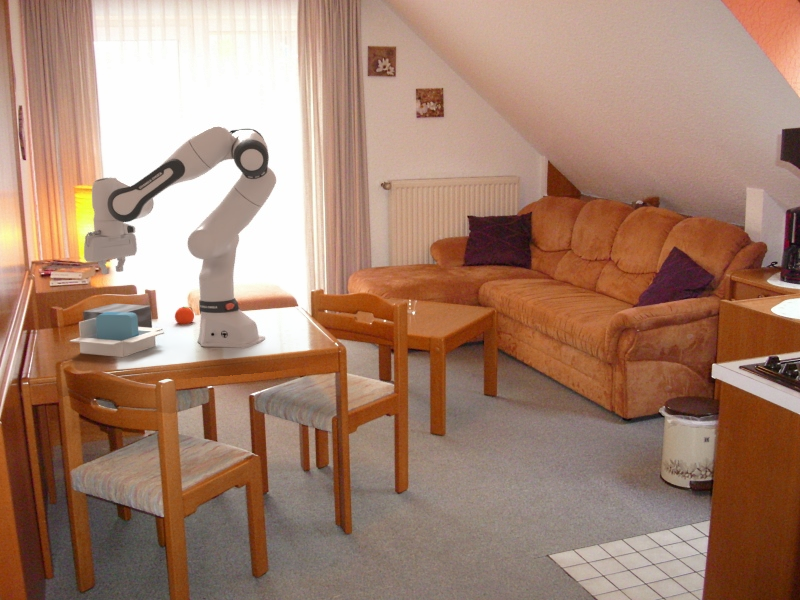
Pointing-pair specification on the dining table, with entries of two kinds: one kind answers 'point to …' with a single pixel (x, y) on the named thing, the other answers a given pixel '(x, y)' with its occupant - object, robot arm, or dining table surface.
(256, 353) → the dining table surface
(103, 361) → the dining table surface
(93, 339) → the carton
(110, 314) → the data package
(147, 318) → the riser
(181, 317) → the clementine
